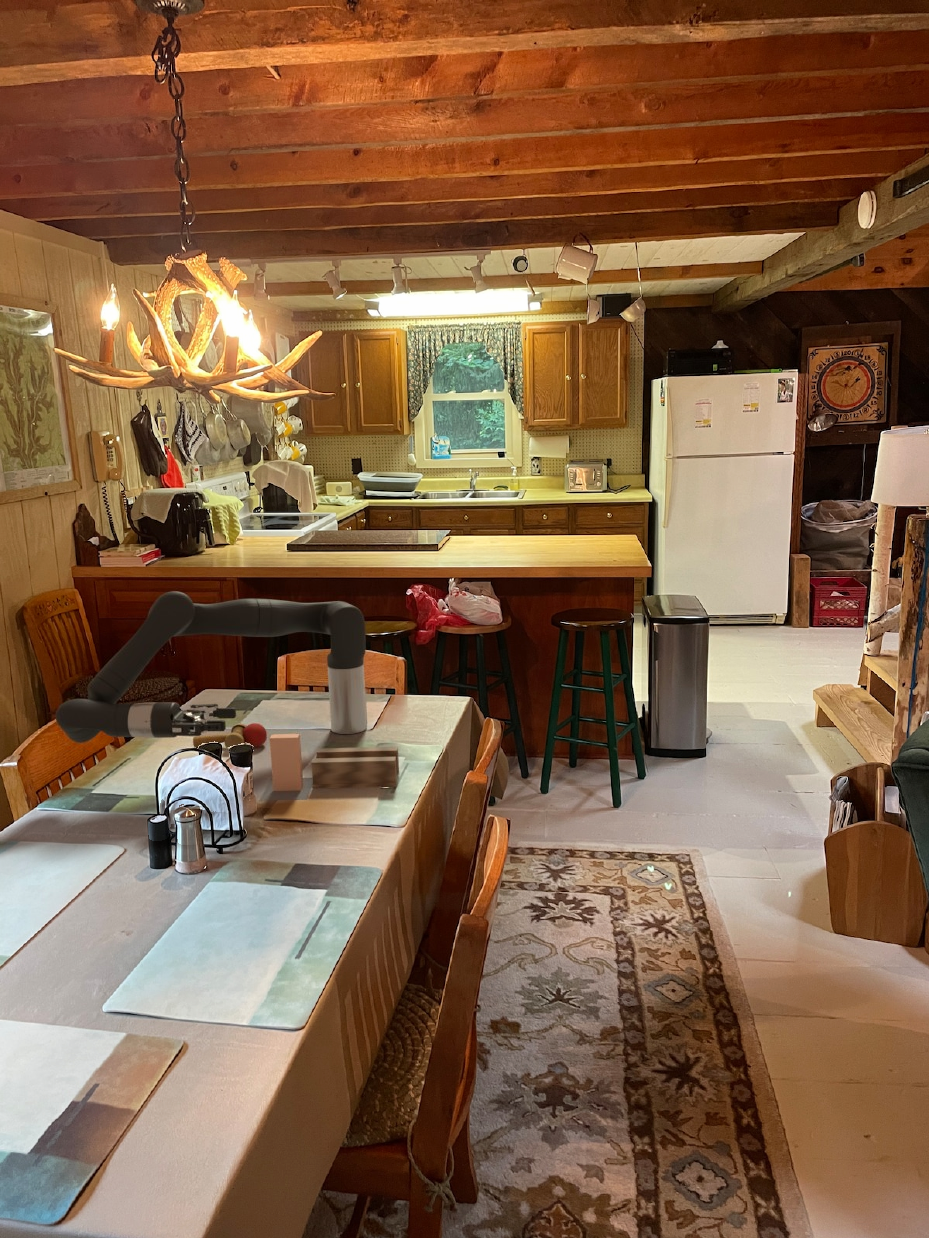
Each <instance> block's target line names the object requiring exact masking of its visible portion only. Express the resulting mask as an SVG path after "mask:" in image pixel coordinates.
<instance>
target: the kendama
mask: <svg viewBox="0 0 929 1238" xmlns="http://www.w3.org/2000/svg"><path fill="white" fill-rule="evenodd" d="M267 739H268V732H267V730H266V728H265V727H264V726H263V725H262V724H260V723H255V722H253V723H250V724H248V725H246V724H245V723H242V722H240V723H238V722H237V723H235V724H234V725H233V726H232V728H231V730H230V733H228V734H210V735H200V736H193V738H192V743H193V747H194V748H195V747H198V746H199V745H201V744H202V743H209V742H214V741H215V742H218V743H219V744H222V743H224V747H226V748H227V747H230V746H233V745H238V744H241V743H245V742H247V743H250V744H251V745H253V746H254V747H255V748H259V747H261V746H263V745H264V744H265V743H266V741H267Z"/></svg>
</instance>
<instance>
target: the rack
mask: <svg viewBox="0 0 929 1238" xmlns="http://www.w3.org/2000/svg"><path fill="white" fill-rule="evenodd" d="M315 755H316V758H313V759H312V761H311V775H312V777H313V786H312V789H343V788H347V789H349V788H350V789H351V788H380V787H396V788H397V786H396V784H397V785H398V781H397V780H399V776H398V774H399V775H400V764H399V763H400V761H399V747H398V746H370V747H369V746H367V747H363V746H362V747H335V748H334V747H333V748H332V747H331V748H330V747H329V748H328V747H327V748H317V750H316V753H315Z"/></svg>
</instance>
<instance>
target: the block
mask: <svg viewBox="0 0 929 1238" xmlns="http://www.w3.org/2000/svg"><path fill="white" fill-rule="evenodd" d="M269 747H270V761H271V772H272V778H273V789H274V791H296V790H302V788H303V778H304V777H303V776H304V775H303V774H304V773H303V762H302V747H301V735H300V733H285V734H284V733H280V734H276V733H275V734H271V736H270V737H269Z"/></svg>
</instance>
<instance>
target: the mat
mask: <svg viewBox="0 0 929 1238" xmlns="http://www.w3.org/2000/svg"><path fill="white" fill-rule="evenodd" d="M312 789H313V777H303V788H302V790H296V791H274V789H273V777H271V778H270V781H269V783H268V784H267V785H266V787H265V789H264V791H263V793H262V795H261V797H260V799H259V802H261V801H296V800H297V801H298V800H299V801H301V800H304V801H305V800H308V797H309V795H310V792H311V791H312Z"/></svg>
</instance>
